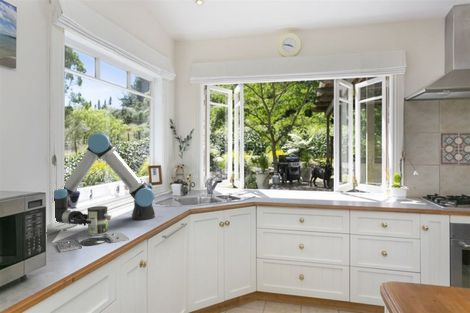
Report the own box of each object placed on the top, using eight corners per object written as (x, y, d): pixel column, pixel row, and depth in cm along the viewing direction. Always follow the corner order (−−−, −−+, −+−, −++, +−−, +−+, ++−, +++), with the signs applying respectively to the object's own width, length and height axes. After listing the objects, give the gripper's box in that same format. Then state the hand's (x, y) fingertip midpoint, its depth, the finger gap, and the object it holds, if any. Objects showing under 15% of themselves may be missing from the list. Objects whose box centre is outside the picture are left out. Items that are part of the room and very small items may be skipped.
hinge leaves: (120, 233, 173) (120, 231, 173) (128, 239, 161) (128, 236, 161) (55, 244, 154) (55, 241, 154) (60, 251, 143) (60, 248, 143)
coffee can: (108, 230, 181) (108, 205, 180) (107, 234, 171) (106, 208, 170) (89, 231, 178) (88, 206, 177) (86, 236, 168) (85, 210, 167)
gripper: (88, 219, 191) (118, 222, 183) (55, 228, 170) (87, 232, 162) (88, 207, 191) (118, 209, 183) (55, 214, 170) (87, 217, 162)
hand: (103, 220), depth 172 cm, fingers closed on coffee can, 10 cm apart
